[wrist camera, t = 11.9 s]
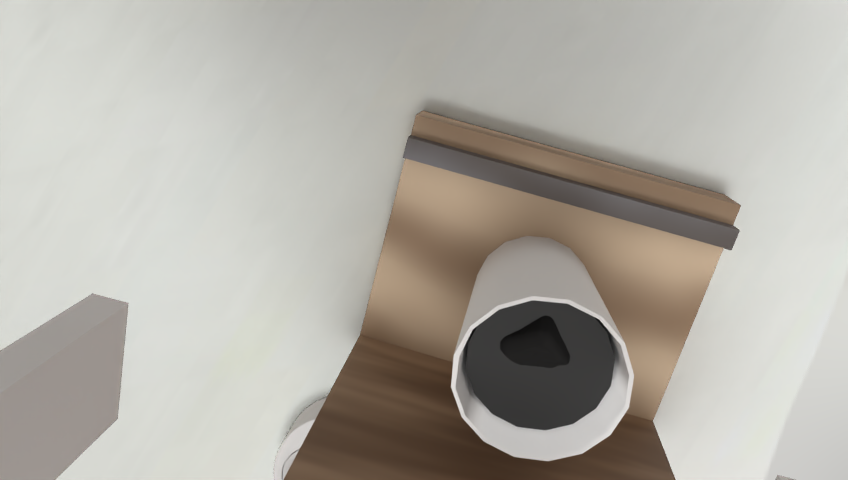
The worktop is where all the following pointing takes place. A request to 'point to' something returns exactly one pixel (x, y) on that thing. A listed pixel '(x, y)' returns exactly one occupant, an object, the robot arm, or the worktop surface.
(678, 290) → the wooden display stand
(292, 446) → the wall hook
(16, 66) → the worktop surface
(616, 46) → the worktop surface
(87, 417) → the robot arm
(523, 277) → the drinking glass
